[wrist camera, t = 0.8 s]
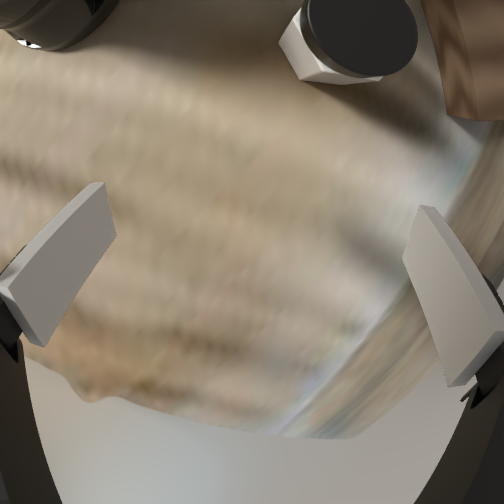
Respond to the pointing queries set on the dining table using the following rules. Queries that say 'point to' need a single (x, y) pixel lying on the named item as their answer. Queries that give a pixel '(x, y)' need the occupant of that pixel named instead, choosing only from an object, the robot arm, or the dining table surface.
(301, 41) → the jar
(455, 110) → the walnut block
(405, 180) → the dining table surface
